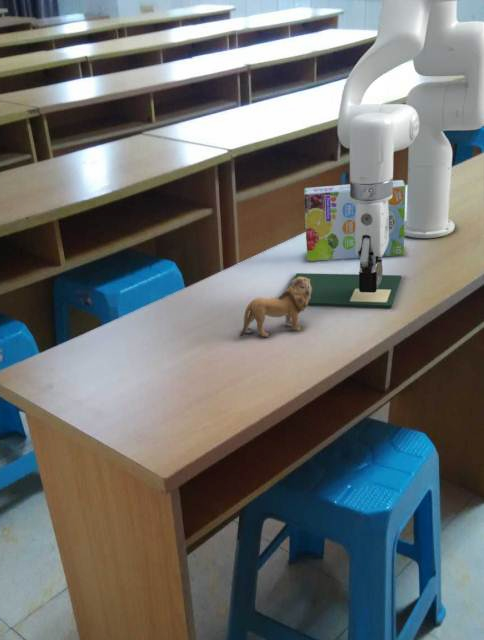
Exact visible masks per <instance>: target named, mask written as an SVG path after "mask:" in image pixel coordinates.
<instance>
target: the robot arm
mask: <svg viewBox="0 0 484 640" xmlns="http://www.w3.org/2000/svg"><path fill="white" fill-rule="evenodd" d="M457 5H458V0H382V3H381V9H380V14H379V21H378V25H377V34H376V39H375V41H374V43H373V44H372V46H370V48H368V50H366V52H365V53H364V54H363V55H362V56H361V57H360V58H359V60H358V61H357V63H356V64H355V65H354V67H352V69H351V71H350V72H349V75H348V76H347V79H346V80H345V83H344V86H343V89H342V93H341V100H340V104H339V112H338V117H337V137H338V140H339V143H340V144H341V146H343V147H344V148H346V149H348V150H349V184H350V200H351V201H353V202H356V214H355V215H356V219H355V247H356V255H357V256H358V257H360V258H359V272H358V275H359V291H360V292H370V293H375V292H376V290H377V271H375V265H376V261H377V262H381V263H382V264H383V259H382V257H384V256H383V254H384V252H385V250H386V248H387V245H388V242H389V212H388V200H389V199H391V198H392V194H393V181H394V153H395V152H399V151H402V150H405V149H408V150H407V151H408V152H407V153H408V155H407V185H406V186H407V189H406V190H407V191H406V212H405V228H404V237H409V238H415V239H435V238H441V237H444V236H447V235H449V234H452V233H453V232H454V231H455V222H454V221H453V220H451V219H449V212H450V211H449V209H450V195H451V179H452V165H453V148H452V145H451V143H450V140H449V139H448V138H447V136H446V135H445V133H444V132H446V131H475V130H479V129H482V128H483V127H484V21H482V20H481V21H480V20H475V21H458V17H457V16H458V15H457V13H458V11H457V10H458V6H457ZM411 60H412V62H413V68H414V70H415V72H416V74H418V75H420V76H421V77H422V76H423V77H458V76H459V77H461V76H463V77H465V78H466V80H441V81H427V82H422V83H419V84H417V85H415V86H413V87H412V88H411V89H410V90H409V92H408V94H407V95H406V99H405V104H403V103H380V104H379V103H370V104H363V103H362V101H363V98H364V96H365V93H366V92H367V90H368V89H369V88H370V86H371V85H372V84H373V83H374V82H375V81H377V80H378V79H379V78H380V77H382V76H383V75H385V74H387V73H389V72H390V71H392V70H395V69H396V68H398V67H400V66H401V65H403V64H405V63H407V62H409V61H411ZM369 261H371V262H372V263H371V262H369Z"/></svg>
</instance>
